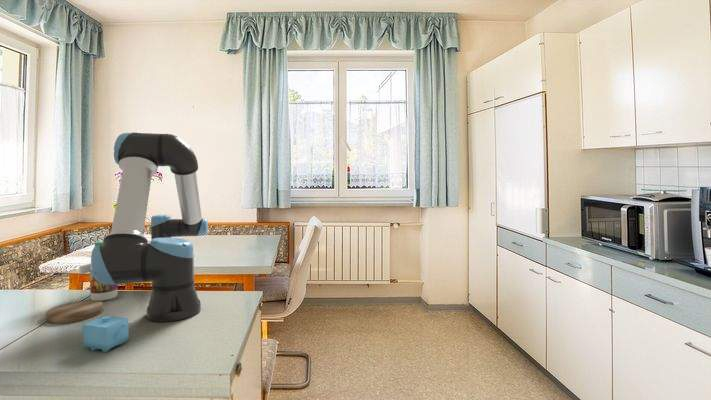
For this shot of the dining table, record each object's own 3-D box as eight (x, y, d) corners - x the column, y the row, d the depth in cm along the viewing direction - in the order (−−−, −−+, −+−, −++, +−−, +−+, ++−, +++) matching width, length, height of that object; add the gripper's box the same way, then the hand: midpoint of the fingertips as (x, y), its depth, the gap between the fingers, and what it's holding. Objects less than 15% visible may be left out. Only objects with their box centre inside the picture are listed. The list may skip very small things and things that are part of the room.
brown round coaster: (114, 309, 114) (114, 302, 114) (68, 326, 101) (67, 319, 101) (82, 304, 118) (81, 298, 118) (33, 320, 105) (33, 313, 105)
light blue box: (139, 344, 90) (138, 315, 90) (118, 355, 84) (117, 324, 84) (102, 339, 93) (101, 310, 93) (78, 349, 87) (77, 319, 87)
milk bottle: (88, 298, 124) (86, 241, 123) (114, 293, 130) (112, 239, 129) (93, 303, 119) (92, 244, 118) (120, 297, 125) (119, 241, 124)
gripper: (166, 267, 140) (116, 283, 117) (122, 264, 144) (66, 279, 121) (165, 248, 139) (115, 261, 117) (121, 246, 143) (65, 258, 121)
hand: (90, 270), depth 119 cm, fingers closed on milk bottle, 7 cm apart
